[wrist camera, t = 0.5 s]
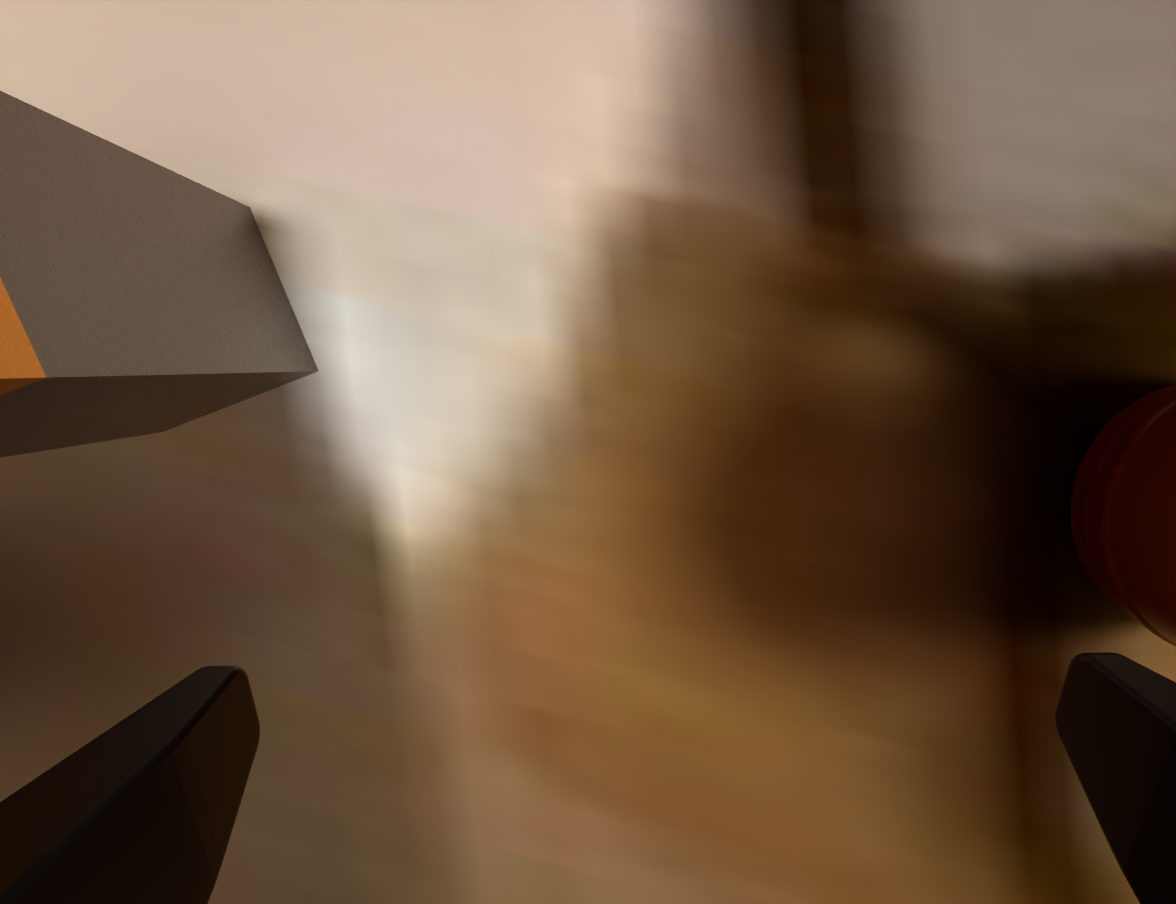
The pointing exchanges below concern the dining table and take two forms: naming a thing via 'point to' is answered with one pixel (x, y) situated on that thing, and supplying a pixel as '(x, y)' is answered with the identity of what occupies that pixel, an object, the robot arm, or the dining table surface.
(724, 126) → the dining table surface
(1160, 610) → the mug
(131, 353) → the orange square peg
